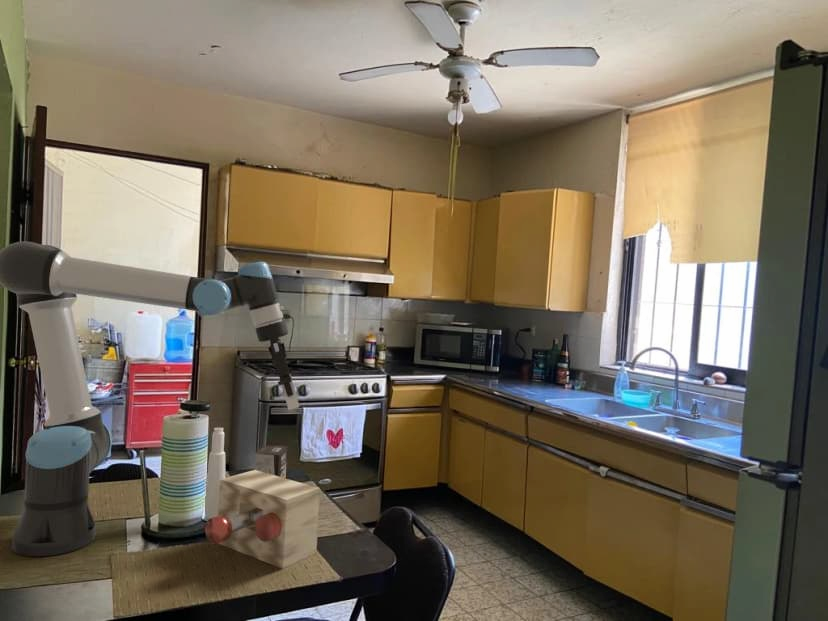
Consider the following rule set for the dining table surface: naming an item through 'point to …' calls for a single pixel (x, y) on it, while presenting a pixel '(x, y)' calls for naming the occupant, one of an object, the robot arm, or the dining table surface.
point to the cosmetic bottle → (215, 473)
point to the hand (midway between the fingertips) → (293, 403)
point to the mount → (272, 517)
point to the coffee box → (271, 460)
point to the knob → (229, 524)
